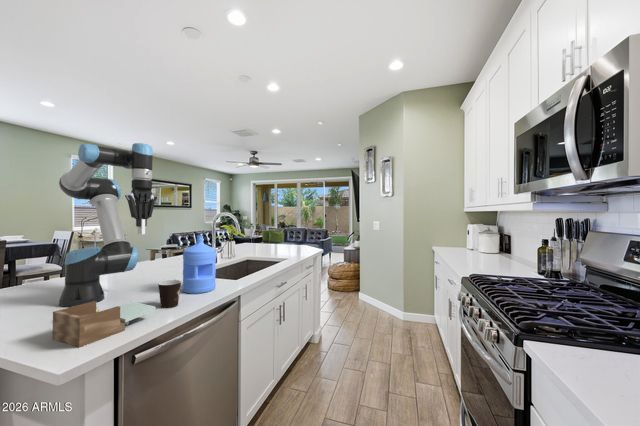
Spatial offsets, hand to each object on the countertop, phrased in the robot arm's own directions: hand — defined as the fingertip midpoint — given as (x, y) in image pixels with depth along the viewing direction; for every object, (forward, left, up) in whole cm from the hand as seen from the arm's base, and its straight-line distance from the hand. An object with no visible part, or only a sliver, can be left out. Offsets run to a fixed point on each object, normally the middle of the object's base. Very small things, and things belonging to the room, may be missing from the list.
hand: (141, 234), depth 119 cm
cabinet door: (+14, -20, -28) cm, 37 cm away
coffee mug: (+13, +5, -31) cm, 34 cm away
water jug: (+6, +27, -31) cm, 41 cm away
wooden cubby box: (+14, -27, -30) cm, 43 cm away
